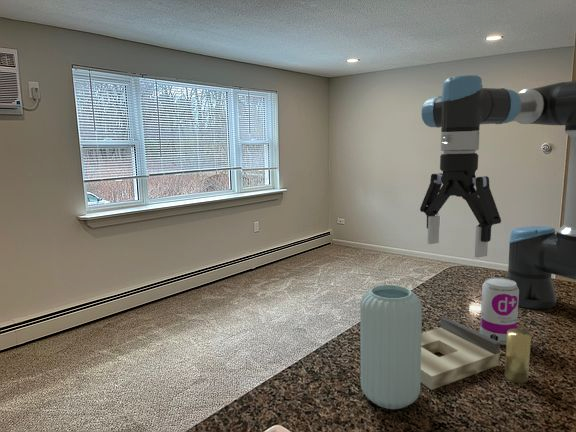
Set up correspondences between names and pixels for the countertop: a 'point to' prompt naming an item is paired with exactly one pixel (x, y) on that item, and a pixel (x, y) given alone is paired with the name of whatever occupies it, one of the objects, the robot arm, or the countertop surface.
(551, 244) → the robot arm
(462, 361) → the jig
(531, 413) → the countertop surface
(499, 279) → the supplement can
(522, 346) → the brass cylinder
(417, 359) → the vase
